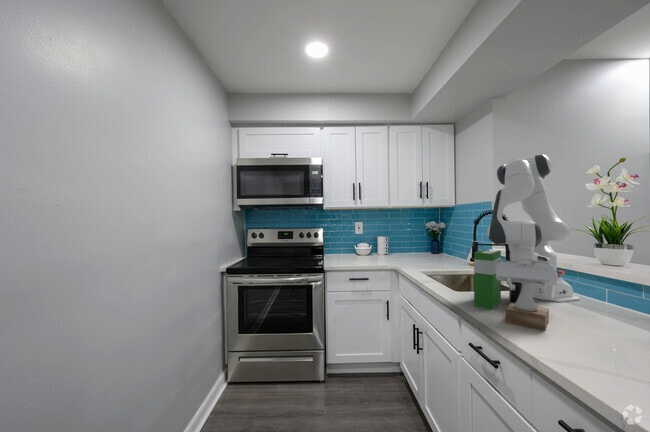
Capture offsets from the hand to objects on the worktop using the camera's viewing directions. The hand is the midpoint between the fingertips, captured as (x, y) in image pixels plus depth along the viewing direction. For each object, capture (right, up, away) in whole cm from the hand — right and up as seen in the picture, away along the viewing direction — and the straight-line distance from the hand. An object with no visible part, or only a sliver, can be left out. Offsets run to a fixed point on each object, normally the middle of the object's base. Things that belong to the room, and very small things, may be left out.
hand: (527, 291), depth 110 cm
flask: (0, -7, +1) cm, 7 cm away
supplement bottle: (+14, -12, +26) cm, 32 cm away
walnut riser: (0, -12, +1) cm, 12 cm away
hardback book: (-1, -12, +24) cm, 27 cm away
